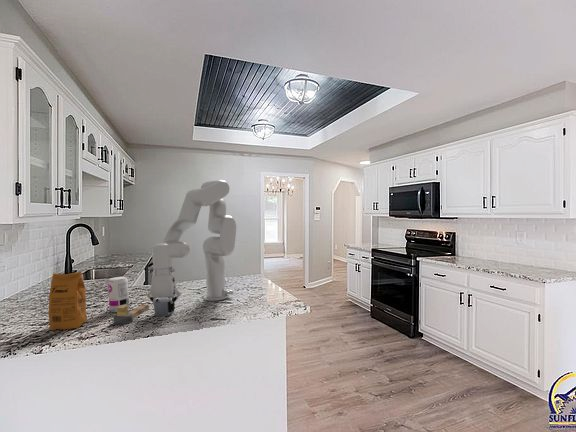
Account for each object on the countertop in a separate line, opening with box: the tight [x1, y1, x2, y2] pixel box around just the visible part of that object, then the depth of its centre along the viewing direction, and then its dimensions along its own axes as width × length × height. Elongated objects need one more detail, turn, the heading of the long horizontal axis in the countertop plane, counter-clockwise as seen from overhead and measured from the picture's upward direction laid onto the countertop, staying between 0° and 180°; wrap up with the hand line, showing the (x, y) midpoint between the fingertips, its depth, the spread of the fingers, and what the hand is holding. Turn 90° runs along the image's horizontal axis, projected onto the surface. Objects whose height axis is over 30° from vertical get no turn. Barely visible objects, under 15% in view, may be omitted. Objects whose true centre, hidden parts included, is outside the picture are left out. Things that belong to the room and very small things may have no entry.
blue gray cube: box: [153, 297, 175, 317], centre depth 139 cm, size 6×6×6 cm
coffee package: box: [48, 271, 88, 331], centre depth 128 cm, size 10×12×22 cm
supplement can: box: [107, 276, 130, 313], centre depth 147 cm, size 8×8×15 cm
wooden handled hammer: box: [113, 304, 150, 326], centre depth 137 cm, size 20×7×7 cm, turn 175°
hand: (164, 311), depth 139 cm, fingers closed on blue gray cube, 6 cm apart
